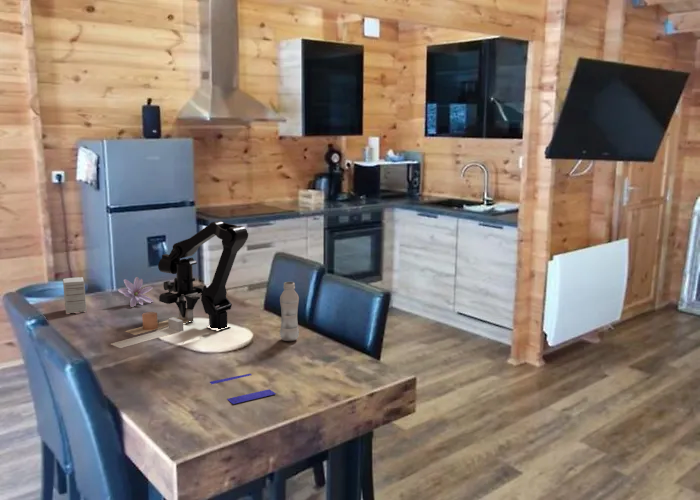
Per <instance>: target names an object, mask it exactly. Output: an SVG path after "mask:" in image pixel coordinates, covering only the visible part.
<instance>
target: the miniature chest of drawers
mask: <svg viewBox="0 0 700 500" xmlns="http://www.w3.org/2000/svg"><path fill="white" fill-rule="evenodd" d="M62 285H63V286H62V287H63V296H64V297H63V298H64V307H65V309H64V310H65V314H66V313H74V312H84V311H86V312H87V304H86V303H87V302H86V288H85V286H86V285H85V280H84V277H83V276H78V277H67V278H63V279H62Z"/></svg>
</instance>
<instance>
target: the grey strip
mask: <svg viewBox="0 0 700 500" xmlns="http://www.w3.org/2000/svg"><path fill="white" fill-rule="evenodd" d="M177 318H178V317H173V316H172V317H169V318H168V319H167V320H168V326H167V327H166V328H164V329H163V328H162V329H158V330H156V331H153V332H152V331H151V332H148V333H145V334H141V335H138V336H137V335H136V336H134V337H130V338H127V339H124V340H123V339H122V340H120V341H116V342H112V343H110V345H112V346H114V347H117V348H119V349H122V348H125V347H129V346H133V345H137V344H139V343H143V342H147V341H148V342H149V341H150V340H154V339H158V338H162V337H164V336H168V335H169V336H170V335H173V334H176V333H180V332H183V331H184V329H185V328H184V324H183V320H180V319H177Z"/></svg>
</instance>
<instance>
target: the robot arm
mask: <svg viewBox="0 0 700 500" xmlns="http://www.w3.org/2000/svg"><path fill="white" fill-rule="evenodd" d="M214 237H217V238H218V239H220V240H221V245H222V248H223V249H222V252H221V255H220V258H219V261H218V264H217V267H216V269H215V271H214V275H213V278H212V280H211V283H208V284H206V285H203V284H199V285H194V282H196V278H195V277H193V275H194V274H193V270H194V269H193V265H196V264H198V263H197V260H196V259H194V258H193V257H191V256H194V254H195V253H196V252H197V251H198V250H199V248H200V246H202V245H203V244H205V243H207V242H208V241H210V240H211V239H213V238H214ZM248 238H249V233H248V230H247V228H246V227H245V226H243V225H237V224H232V223H227V222H224V221H222V220H217V221H212V222H210V223H209V224H208V225H206V226H205V227H204V228H203V229H201V230H200V231H198V232H196V233H195V234H193V235H191V237H189V238H187V239H183V240H181V241H177V242H175V243H174V244H173V245H172V249H171V250H170V252H169V254H168V253H167V254H162V255H161V258H160V260H159V262H158V264H157V268H158V270H159V272H161V273H163V274H164V273H165V274H171V275H176V277H174V280H173V282H171V281H170V280H166V281H163V290H164V291H167V292H163V293H160V295H159V296H158V299H159V302H160V303H163V304H167V305H171V304H175V305H176V306H177V308H178V312H179V311H180V313H181V315H182V317H183V318H184V317H185V313H186V308H188V309H191V310H193V311H194V308H195V307H196V305H197V304H198V301H199V300H201V304H202V306H203V311H204V314H207V315H208V326H209V325H210V327H211V328H218V329H221V328H225V327H227V325H228V311H229V310H232V305H233V304H232V303H231V302H230V300H229V299H228V297H227V294H228V293H227V292H228V291H227V288H226V286H227V282H228V279H229V277H230V273H231V270H232V269H233V265H234V263H235V260H236V257H237V253H239V251H240V250H241V249H242V248H243V246H244V245H245V244H246V242H247V240H248ZM173 292H174V293H173ZM199 294H200V296H201V297H200V296H199Z"/></svg>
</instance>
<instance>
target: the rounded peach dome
mask: <svg viewBox="0 0 700 500" xmlns="http://www.w3.org/2000/svg"><path fill="white" fill-rule="evenodd" d="M141 318H142V327H143V329H145V330H152V331H154V330H153V329H156V328H158V313H157V312H155V311H146V312H143V313H142V314H141ZM156 330H157V329H156Z"/></svg>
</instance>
